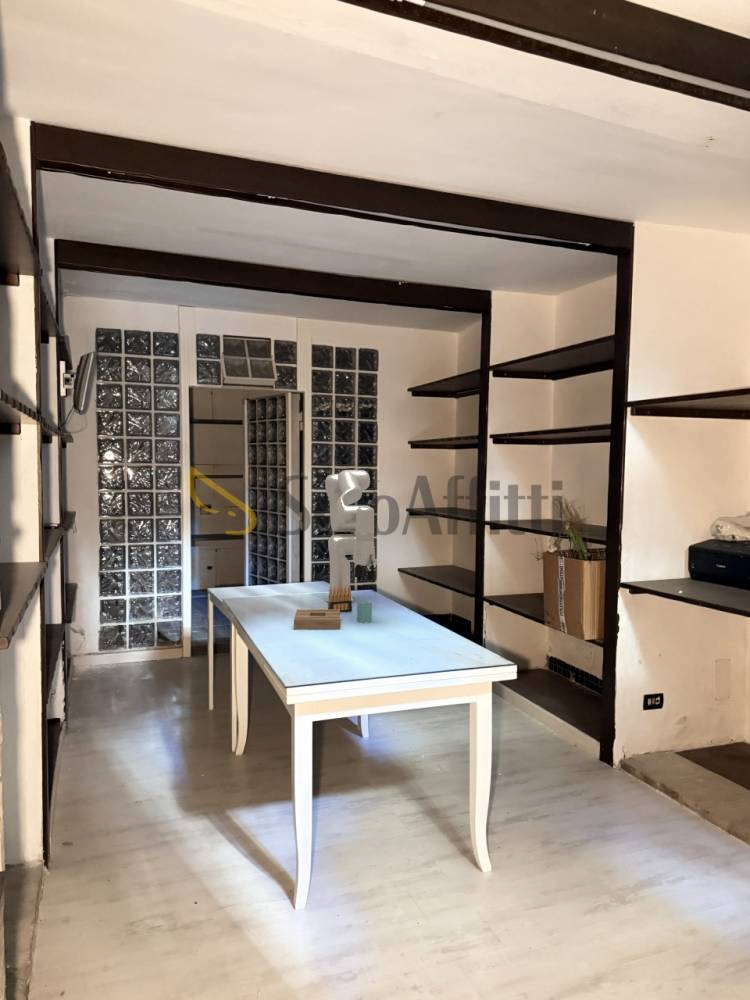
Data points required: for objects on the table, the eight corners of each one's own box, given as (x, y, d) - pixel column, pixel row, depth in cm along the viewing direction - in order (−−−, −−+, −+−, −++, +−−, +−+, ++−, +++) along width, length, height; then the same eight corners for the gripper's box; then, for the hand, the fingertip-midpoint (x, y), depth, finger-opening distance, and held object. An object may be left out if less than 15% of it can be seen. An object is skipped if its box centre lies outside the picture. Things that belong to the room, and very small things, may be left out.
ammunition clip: (350, 610, 298) (350, 584, 297) (352, 611, 296) (352, 584, 296) (327, 613, 294) (327, 585, 293) (329, 613, 292) (329, 586, 291)
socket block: (296, 618, 282) (296, 609, 282) (340, 618, 283) (340, 609, 283) (294, 629, 264) (294, 619, 264) (339, 629, 265) (340, 619, 265)
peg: (356, 621, 279) (357, 601, 279) (365, 619, 282) (366, 600, 281) (362, 623, 276) (362, 603, 275) (371, 621, 278) (371, 602, 277)
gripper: (346, 535, 282) (346, 576, 283) (368, 539, 267) (368, 582, 268) (361, 534, 286) (361, 575, 287) (384, 538, 271) (383, 580, 272)
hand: (364, 578), depth 277 cm, fingers open, 9 cm apart
